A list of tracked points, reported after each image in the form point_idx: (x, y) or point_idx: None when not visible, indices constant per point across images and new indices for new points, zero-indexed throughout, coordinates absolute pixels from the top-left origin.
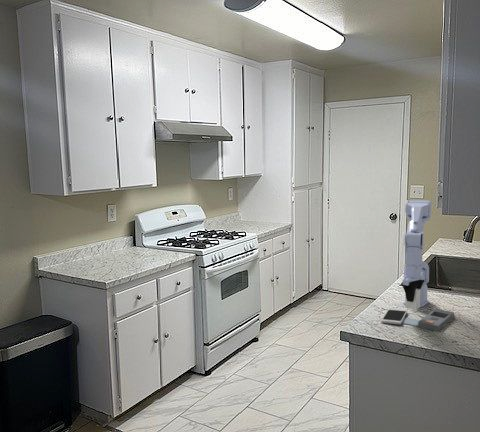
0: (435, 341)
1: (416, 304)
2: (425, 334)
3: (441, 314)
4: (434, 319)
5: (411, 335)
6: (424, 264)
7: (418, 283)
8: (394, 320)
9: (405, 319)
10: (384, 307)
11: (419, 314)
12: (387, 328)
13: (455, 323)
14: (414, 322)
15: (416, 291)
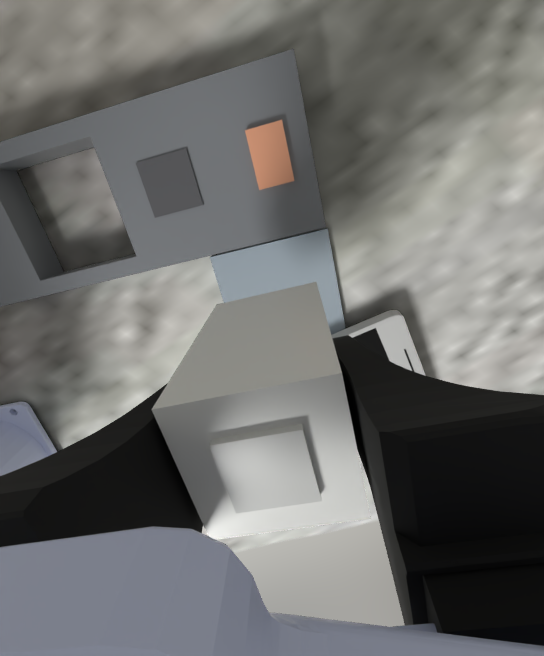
0: None
1: (304, 300)
2: (419, 92)
3: (25, 228)
4: (188, 169)
5: (510, 151)
6: None
7: (115, 521)
8: (390, 360)
9: None
10: None
11: (124, 347)
12: (492, 329)
13: (35, 82)
14: (283, 279)
15: (332, 375)
